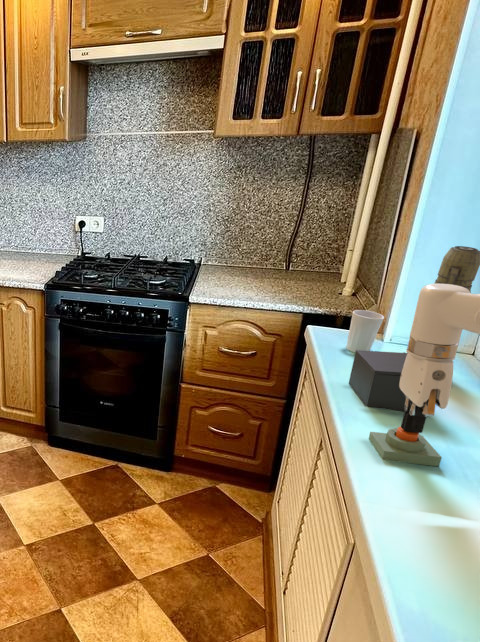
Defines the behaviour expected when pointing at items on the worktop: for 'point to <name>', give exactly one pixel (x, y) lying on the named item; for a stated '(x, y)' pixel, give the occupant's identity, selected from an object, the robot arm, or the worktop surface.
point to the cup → (363, 330)
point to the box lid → (383, 361)
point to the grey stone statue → (459, 267)
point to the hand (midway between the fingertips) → (411, 430)
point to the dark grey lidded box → (376, 387)
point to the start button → (406, 435)
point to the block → (404, 449)
